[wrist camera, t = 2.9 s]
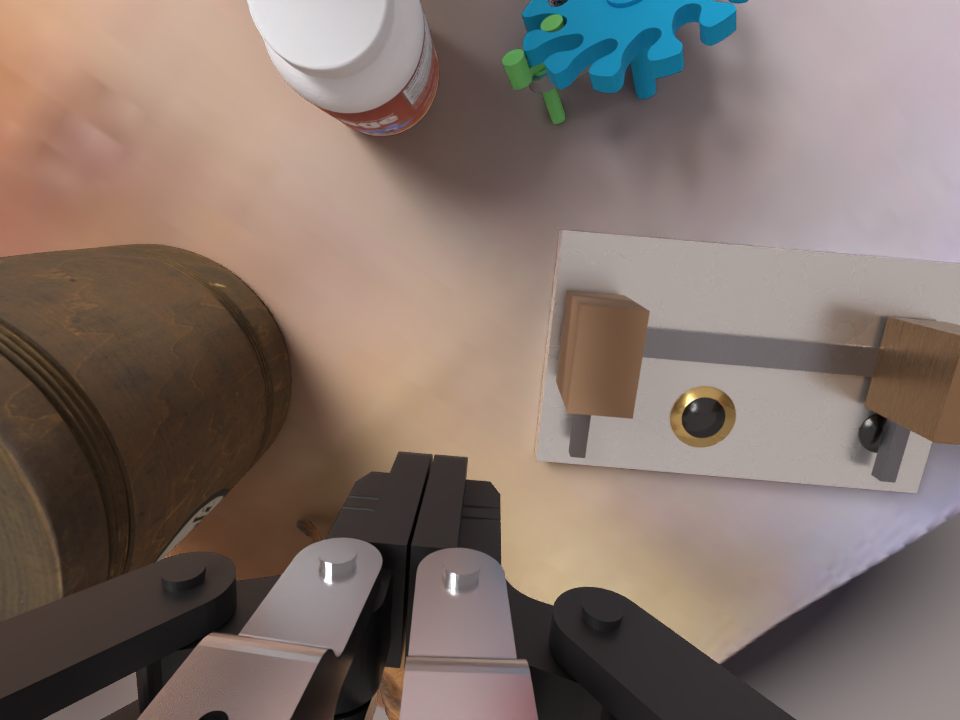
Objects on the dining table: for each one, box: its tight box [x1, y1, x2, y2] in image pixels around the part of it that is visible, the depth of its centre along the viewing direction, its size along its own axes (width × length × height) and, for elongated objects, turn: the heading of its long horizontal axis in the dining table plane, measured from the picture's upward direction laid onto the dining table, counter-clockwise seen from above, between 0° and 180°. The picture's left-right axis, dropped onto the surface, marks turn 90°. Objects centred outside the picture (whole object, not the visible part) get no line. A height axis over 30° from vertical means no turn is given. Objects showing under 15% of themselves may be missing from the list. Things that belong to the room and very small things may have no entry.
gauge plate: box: [534, 230, 960, 493], centre depth 29 cm, size 22×13×7 cm, turn 85°
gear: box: [502, 0, 748, 124], centre depth 26 cm, size 11×6×10 cm
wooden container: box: [0, 244, 291, 622], centre depth 23 cm, size 15×15×22 cm
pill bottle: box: [247, 0, 439, 136], centre depth 23 cm, size 6×6×11 cm
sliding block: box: [556, 290, 650, 458], centre depth 28 cm, size 3×9×5 cm, turn 175°
